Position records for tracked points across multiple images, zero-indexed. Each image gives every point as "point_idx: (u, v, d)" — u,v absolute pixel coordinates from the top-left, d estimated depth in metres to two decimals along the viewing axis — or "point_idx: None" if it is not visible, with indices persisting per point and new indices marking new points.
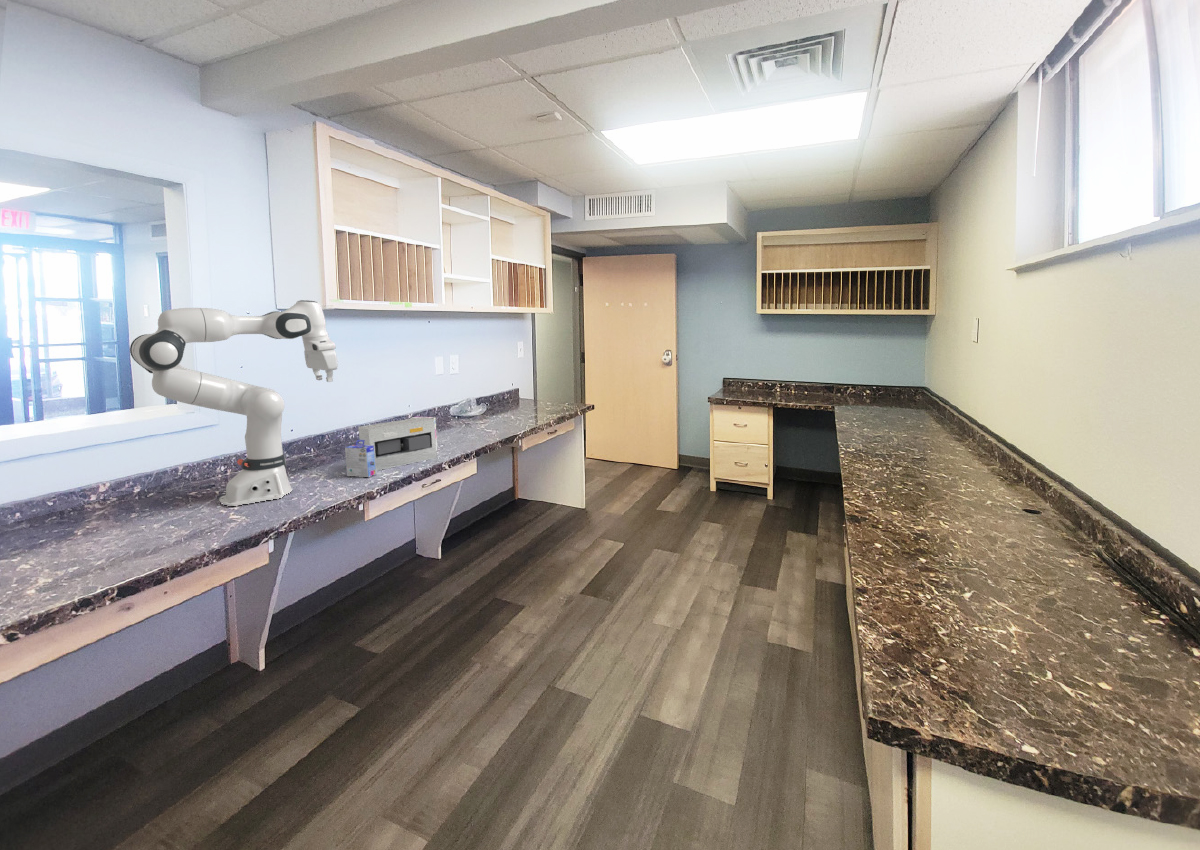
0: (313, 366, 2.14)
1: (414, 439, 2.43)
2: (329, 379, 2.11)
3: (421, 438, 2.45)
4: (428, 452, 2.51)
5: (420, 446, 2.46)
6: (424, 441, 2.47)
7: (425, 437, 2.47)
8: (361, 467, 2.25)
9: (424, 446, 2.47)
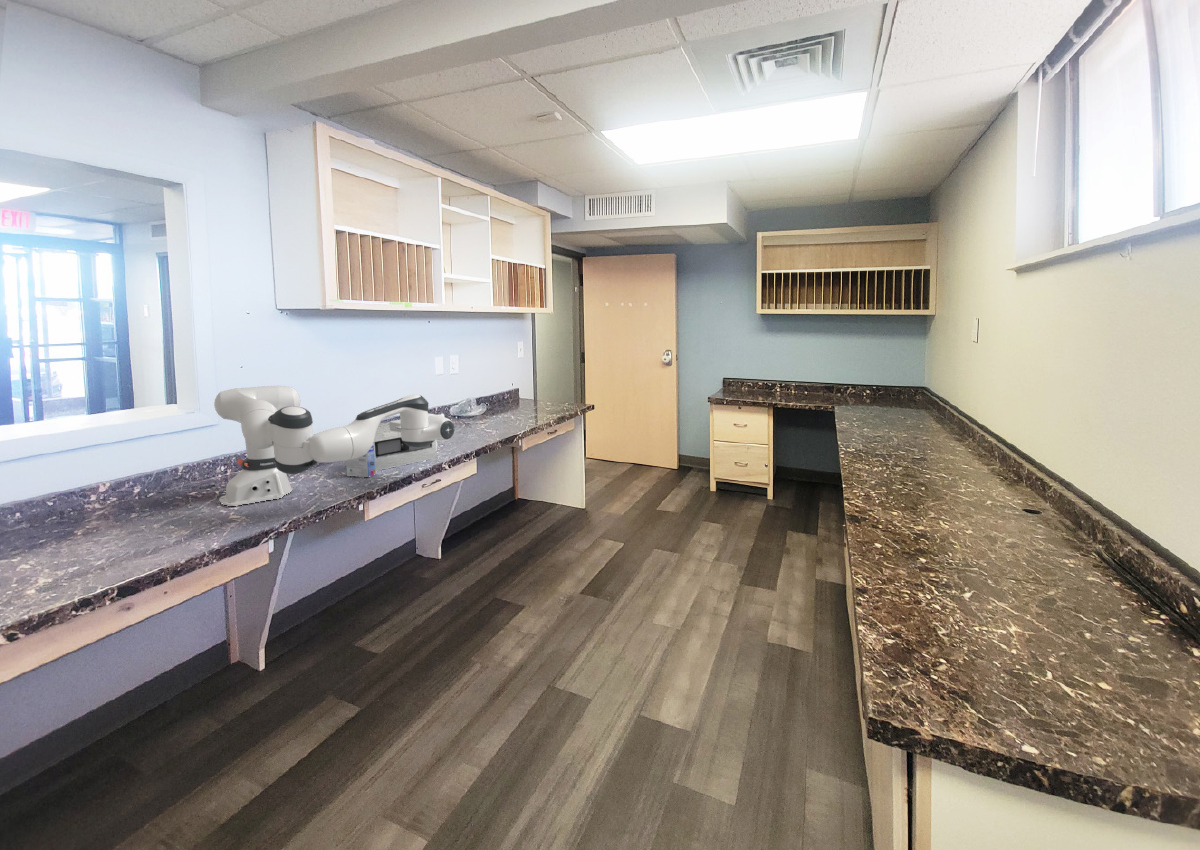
0: None
1: None
2: None
3: None
4: (428, 452, 2.51)
5: None
6: None
7: None
8: (361, 467, 2.25)
9: (424, 446, 2.47)
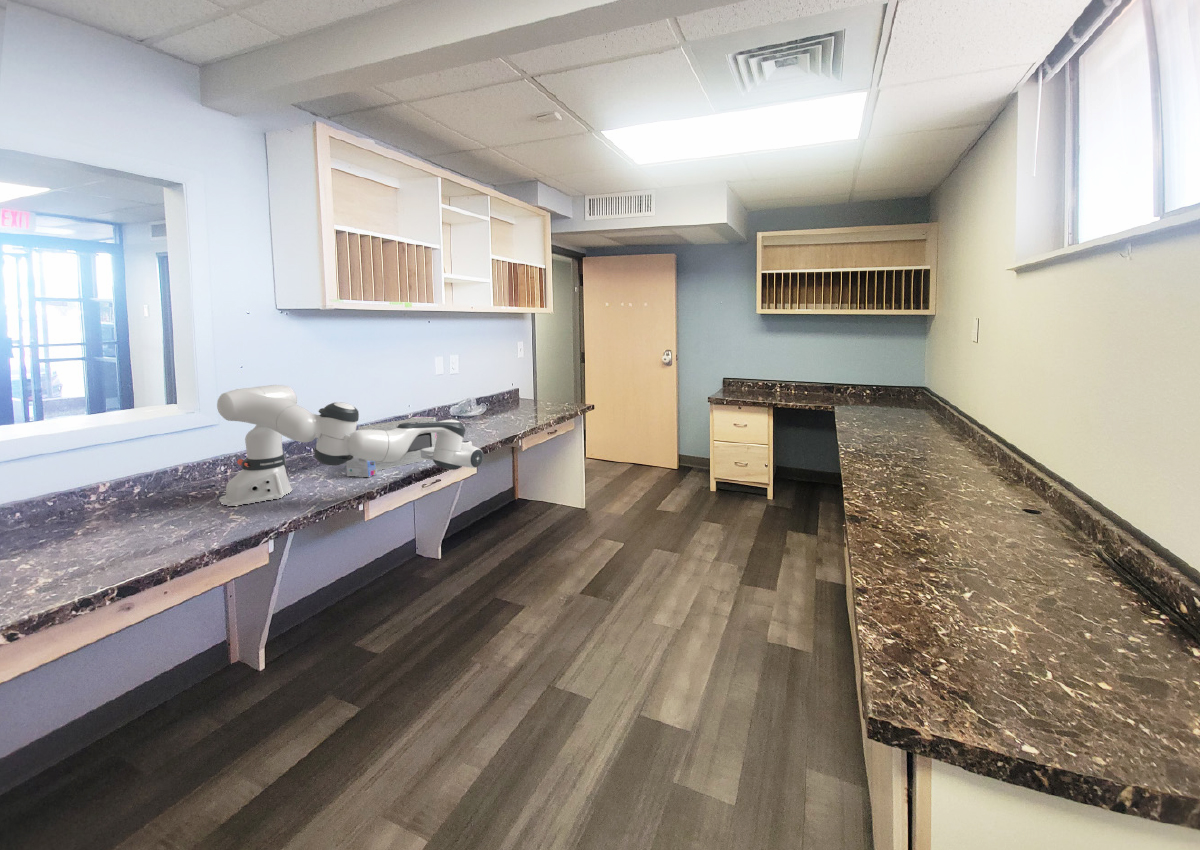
0: None
1: (414, 439, 2.43)
2: None
3: (421, 438, 2.45)
4: None
5: (420, 446, 2.46)
6: (424, 441, 2.47)
7: (425, 437, 2.47)
8: (361, 467, 2.25)
9: (424, 446, 2.47)
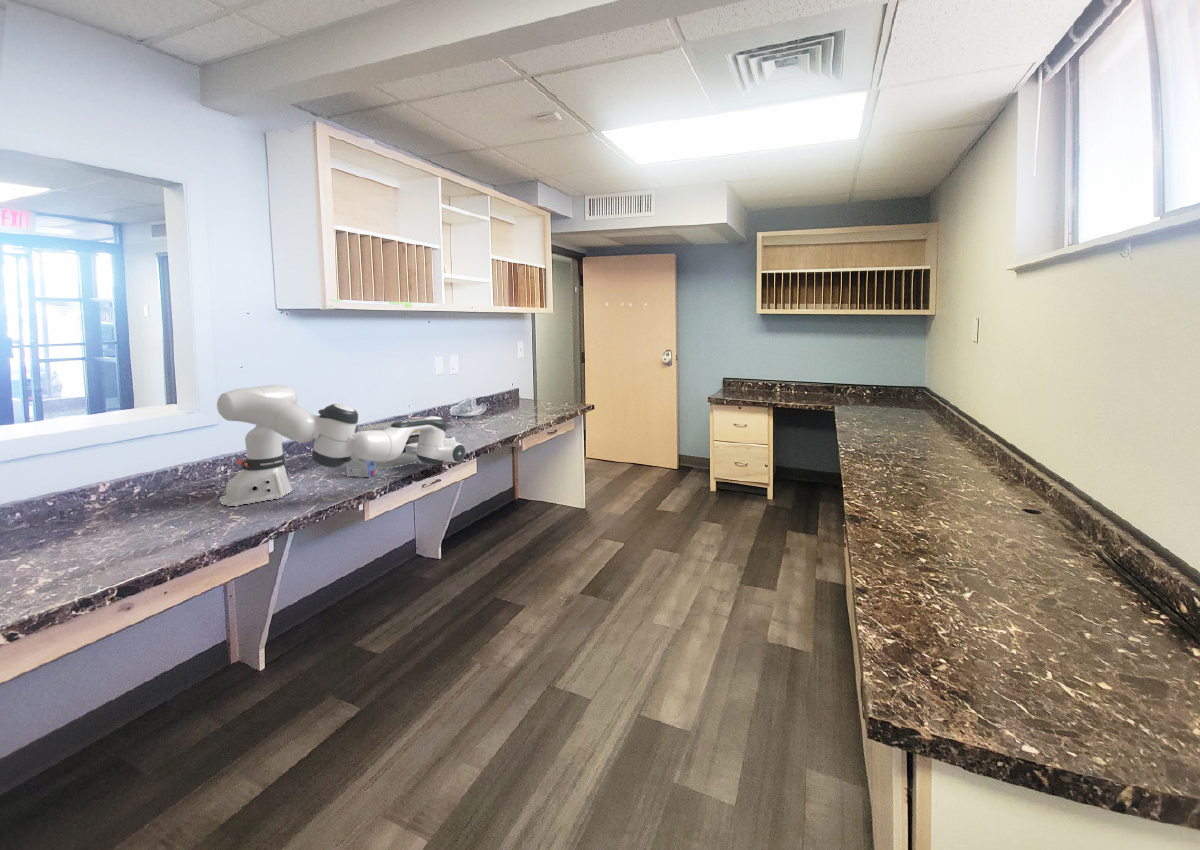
0: None
1: (414, 439, 2.43)
2: None
3: None
4: None
5: None
6: None
7: None
8: (361, 467, 2.25)
9: None
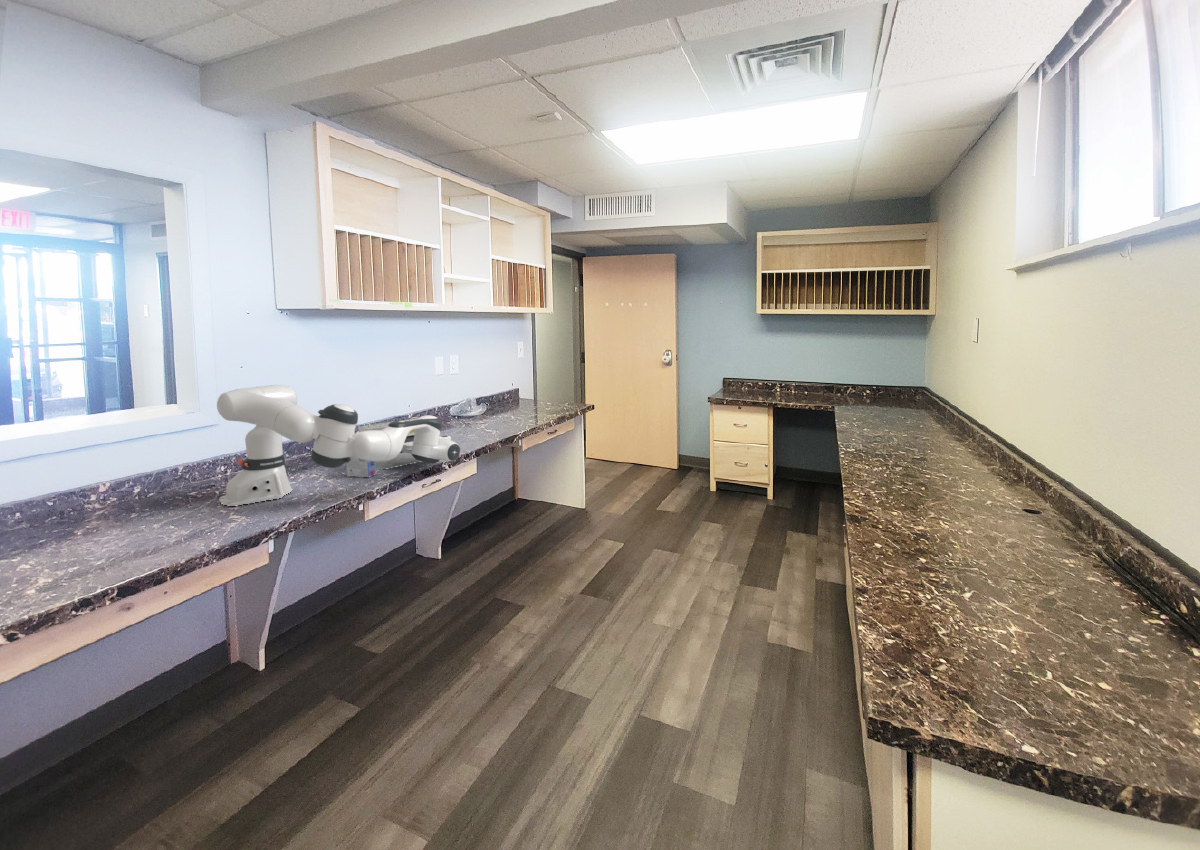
0: None
1: (410, 438, 2.45)
2: None
3: None
4: None
5: None
6: None
7: None
8: (361, 467, 2.25)
9: None
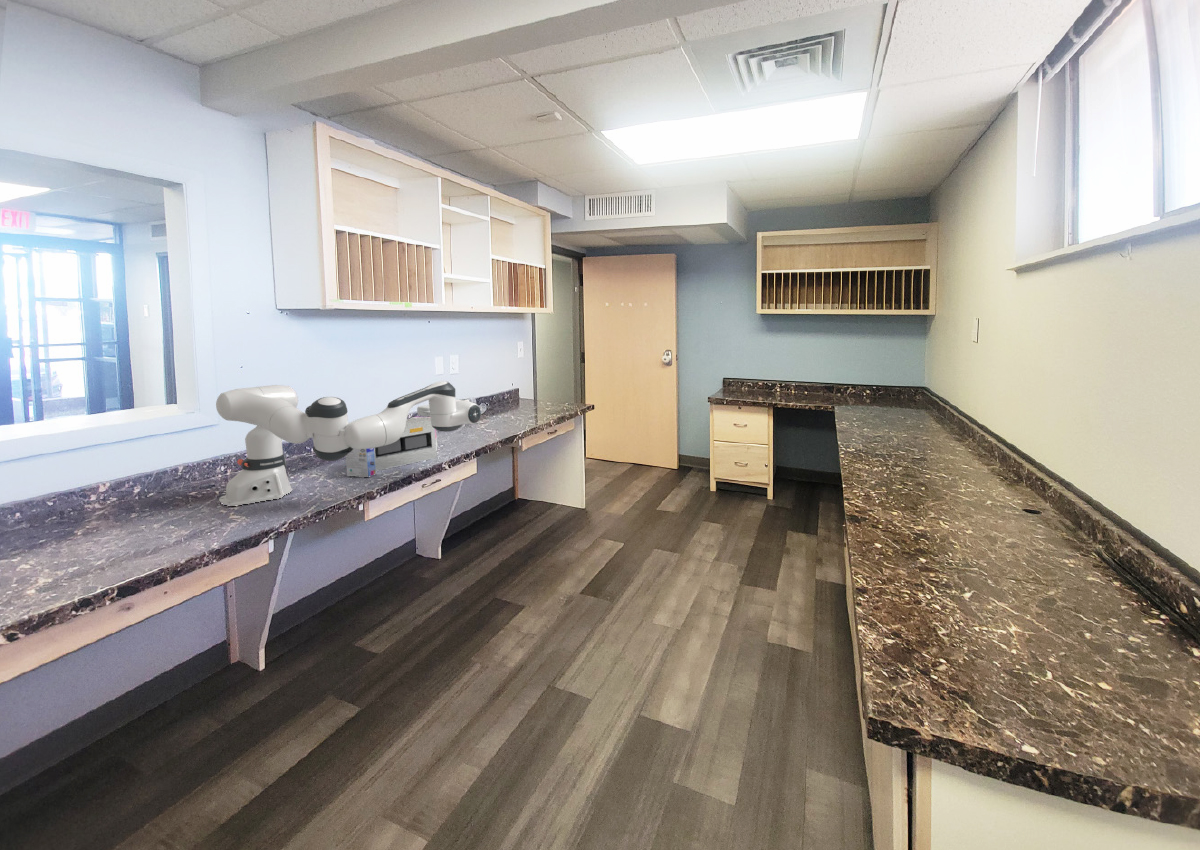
0: None
1: (410, 438, 2.45)
2: None
3: (417, 437, 2.47)
4: (428, 452, 2.51)
5: (416, 445, 2.48)
6: (420, 440, 2.49)
7: (421, 436, 2.49)
8: (361, 467, 2.25)
9: (420, 445, 2.49)
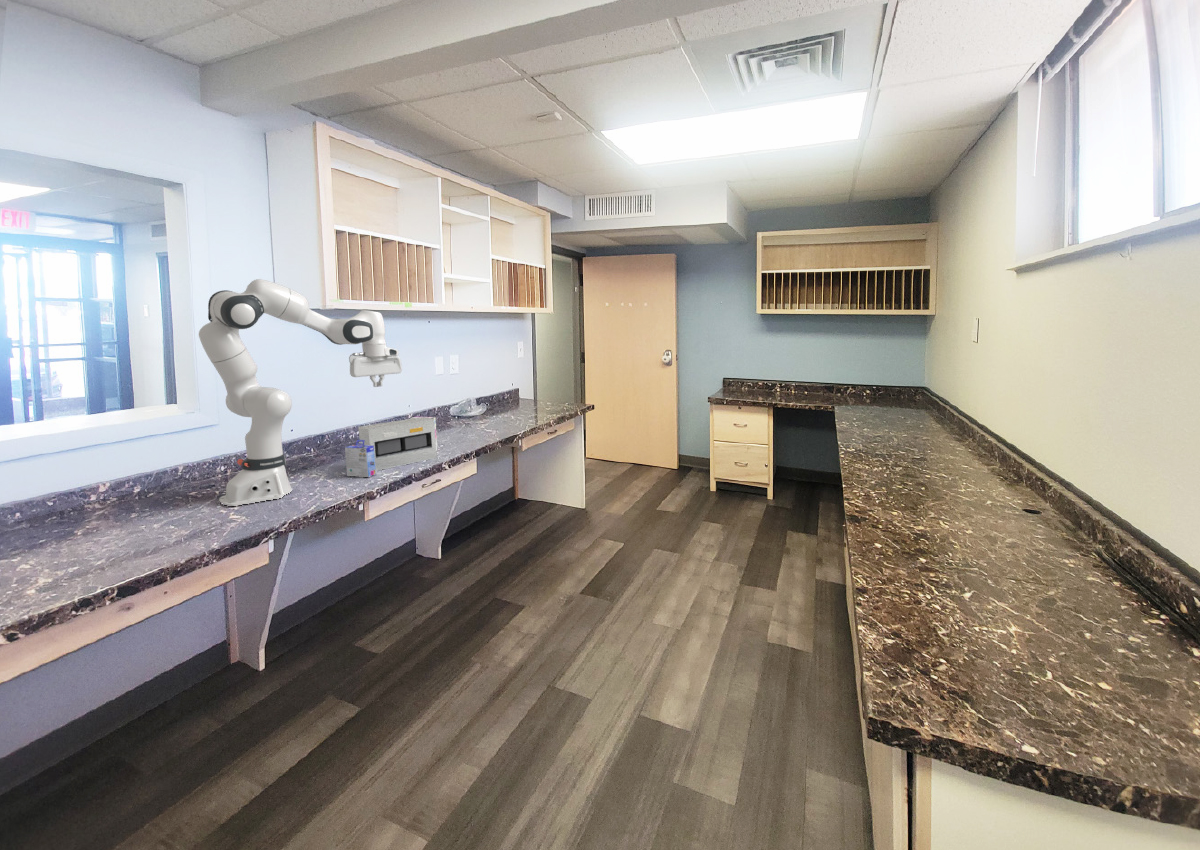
0: (371, 373, 2.22)
1: (410, 438, 2.45)
2: None
3: (417, 437, 2.47)
4: (428, 452, 2.51)
5: (416, 445, 2.48)
6: (420, 440, 2.49)
7: (421, 436, 2.49)
8: (361, 467, 2.25)
9: (420, 445, 2.49)
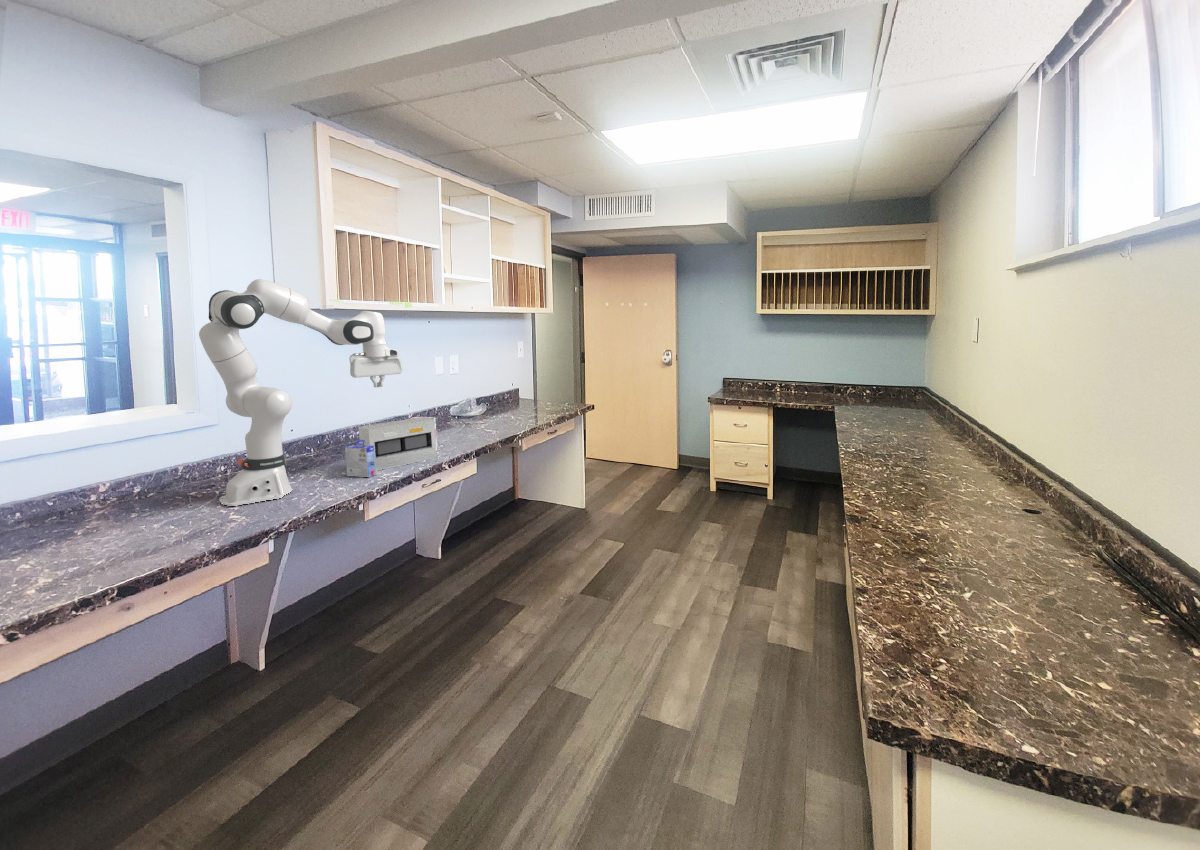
0: (372, 373, 2.22)
1: (410, 438, 2.45)
2: None
3: (417, 437, 2.47)
4: (428, 452, 2.51)
5: (416, 445, 2.48)
6: (420, 440, 2.49)
7: (421, 436, 2.49)
8: (361, 467, 2.25)
9: (420, 445, 2.49)
